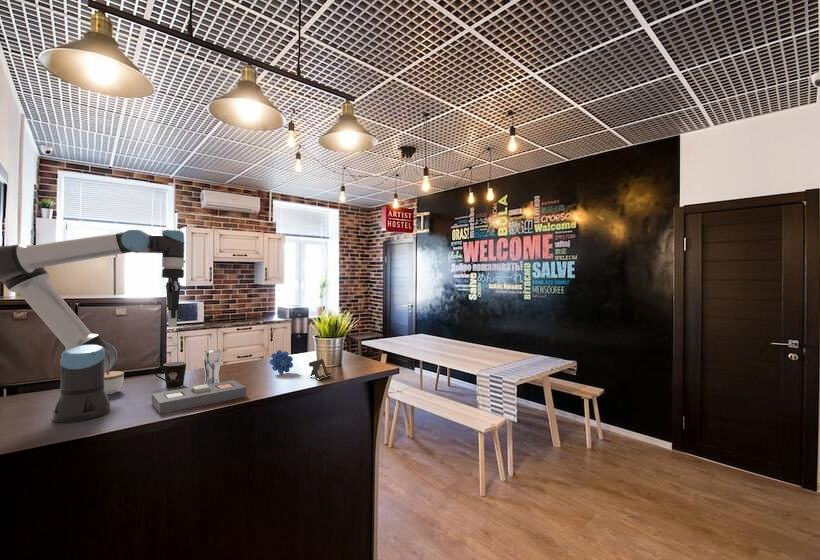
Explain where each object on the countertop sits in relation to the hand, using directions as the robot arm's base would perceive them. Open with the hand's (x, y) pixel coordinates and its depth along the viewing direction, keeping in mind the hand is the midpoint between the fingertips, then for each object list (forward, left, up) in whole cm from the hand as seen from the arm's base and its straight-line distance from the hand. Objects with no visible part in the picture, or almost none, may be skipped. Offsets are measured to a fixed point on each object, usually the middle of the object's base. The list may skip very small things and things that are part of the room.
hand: (172, 325), depth 155 cm
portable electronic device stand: (+57, +22, -29) cm, 68 cm away
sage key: (+14, -8, -26) cm, 30 cm away
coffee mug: (-6, +14, -29) cm, 32 cm away
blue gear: (+38, +31, -29) cm, 57 cm away
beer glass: (+10, +16, -29) cm, 34 cm away
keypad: (+14, -8, -28) cm, 33 cm away
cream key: (+7, -13, -27) cm, 31 cm away
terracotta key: (+21, -3, -27) cm, 35 cm away
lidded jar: (-27, +6, -29) cm, 40 cm away
